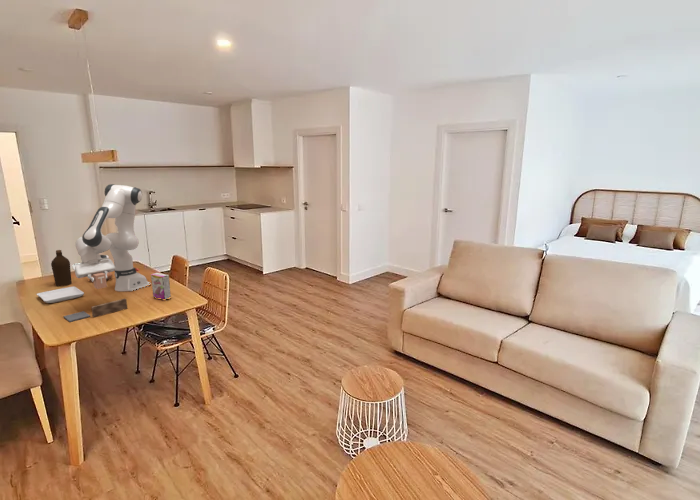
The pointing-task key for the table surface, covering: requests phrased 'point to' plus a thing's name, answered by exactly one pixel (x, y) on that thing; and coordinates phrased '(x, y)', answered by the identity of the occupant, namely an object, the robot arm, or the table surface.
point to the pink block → (99, 280)
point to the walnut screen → (109, 307)
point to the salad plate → (60, 294)
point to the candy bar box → (160, 285)
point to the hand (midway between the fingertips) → (100, 279)
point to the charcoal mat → (76, 316)
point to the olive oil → (61, 270)
